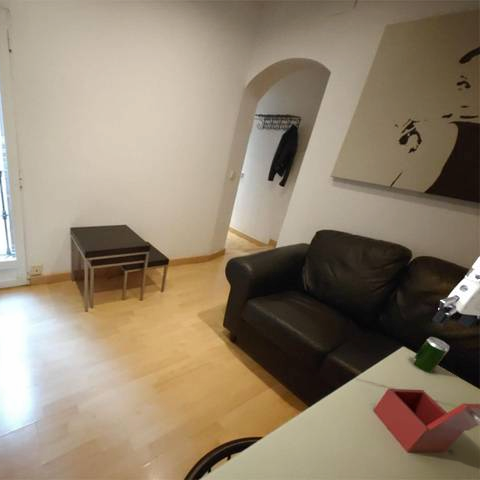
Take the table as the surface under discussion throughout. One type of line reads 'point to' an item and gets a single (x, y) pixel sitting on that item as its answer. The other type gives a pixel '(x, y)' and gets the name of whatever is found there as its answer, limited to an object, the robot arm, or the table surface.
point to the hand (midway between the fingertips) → (450, 324)
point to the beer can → (430, 354)
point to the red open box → (414, 420)
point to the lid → (458, 418)
